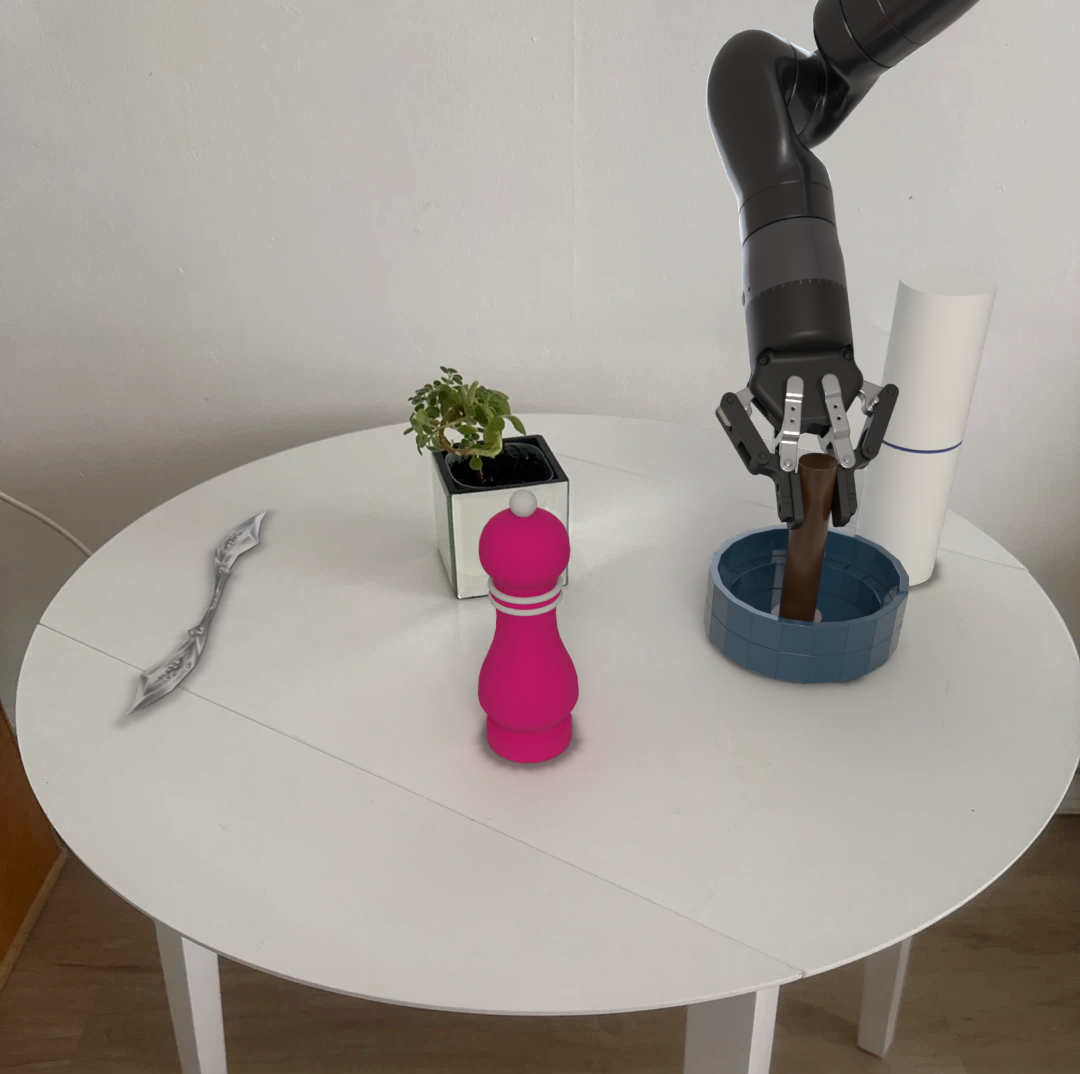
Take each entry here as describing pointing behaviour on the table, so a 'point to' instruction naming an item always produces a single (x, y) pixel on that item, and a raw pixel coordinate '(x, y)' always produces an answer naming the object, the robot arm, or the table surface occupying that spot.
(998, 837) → the table surface
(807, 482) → the brown flanged cylinder
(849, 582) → the bowl
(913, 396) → the cylindrical container
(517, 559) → the pepper mill
